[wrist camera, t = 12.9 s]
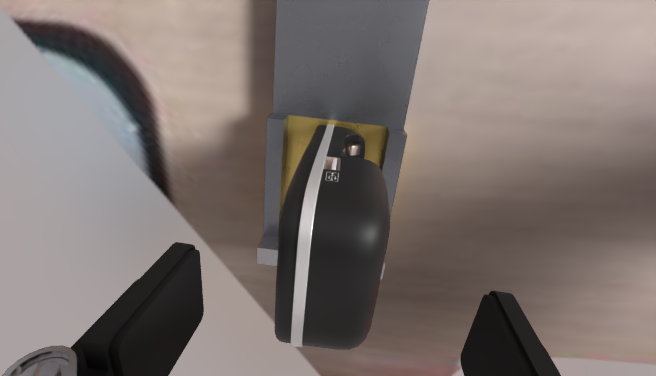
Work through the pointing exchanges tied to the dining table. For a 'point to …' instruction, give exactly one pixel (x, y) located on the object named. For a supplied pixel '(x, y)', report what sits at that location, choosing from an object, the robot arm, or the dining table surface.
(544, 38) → the dining table surface
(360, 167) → the battery charger
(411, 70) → the grey and yellow block
